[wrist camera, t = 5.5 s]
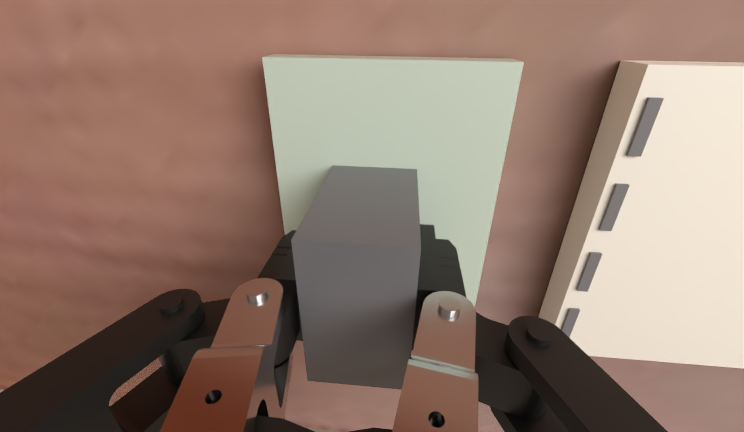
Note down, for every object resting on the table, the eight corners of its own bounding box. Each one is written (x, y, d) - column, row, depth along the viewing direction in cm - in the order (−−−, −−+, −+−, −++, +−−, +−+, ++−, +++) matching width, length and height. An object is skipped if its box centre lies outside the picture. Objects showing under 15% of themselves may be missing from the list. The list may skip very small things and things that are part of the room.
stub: (512, 58, 11) (607, 87, 6) (463, 324, 17) (488, 464, 12) (276, 54, 12) (164, 76, 7) (304, 312, 18) (257, 439, 12)
